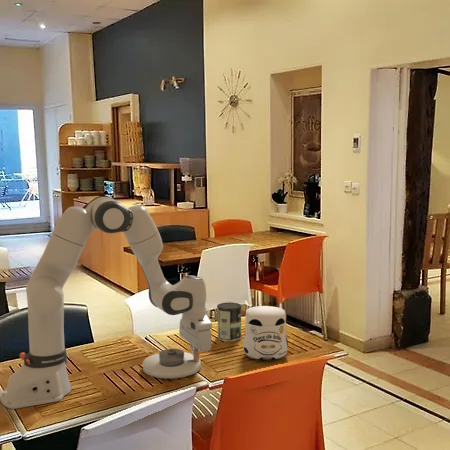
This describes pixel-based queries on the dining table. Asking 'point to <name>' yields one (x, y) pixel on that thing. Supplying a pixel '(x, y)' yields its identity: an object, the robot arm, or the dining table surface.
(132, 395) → the dining table surface
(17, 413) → the dining table surface
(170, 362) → the iron cover
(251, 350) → the milk container
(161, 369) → the crank wheel
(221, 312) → the coffee can
